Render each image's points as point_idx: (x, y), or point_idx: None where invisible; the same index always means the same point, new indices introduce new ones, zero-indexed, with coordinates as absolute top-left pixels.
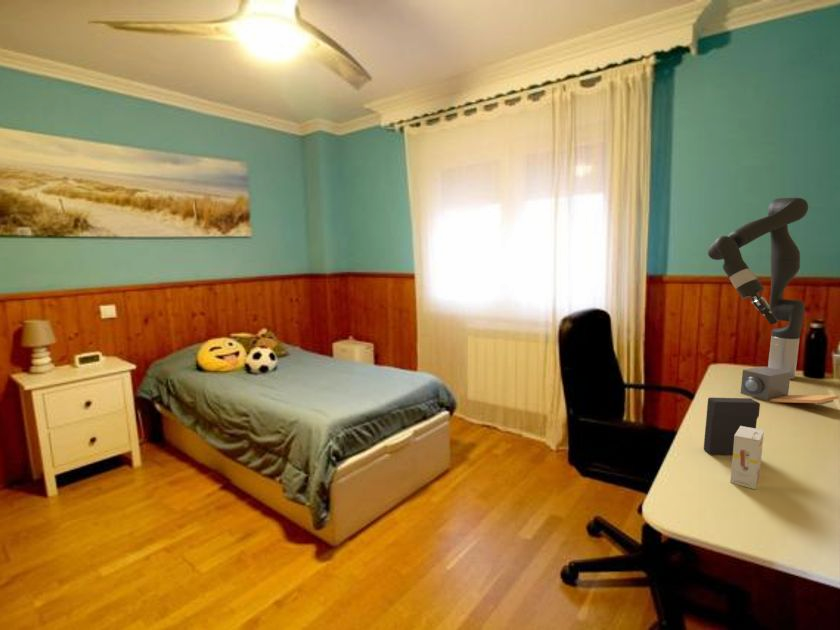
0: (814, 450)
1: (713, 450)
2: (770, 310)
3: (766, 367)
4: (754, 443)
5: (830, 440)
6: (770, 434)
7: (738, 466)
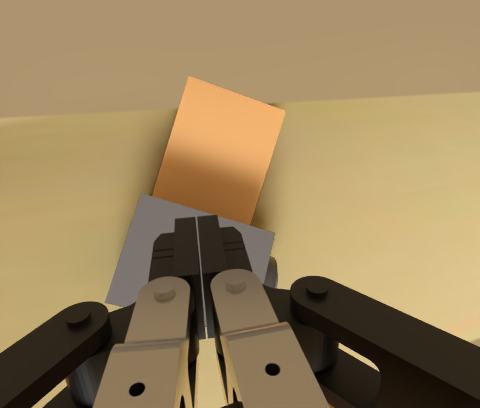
0: (471, 114)
1: None
2: (157, 307)
3: (120, 285)
4: None
5: (402, 98)
6: (460, 182)
7: None
